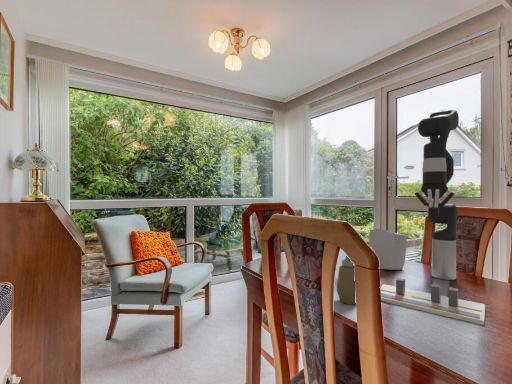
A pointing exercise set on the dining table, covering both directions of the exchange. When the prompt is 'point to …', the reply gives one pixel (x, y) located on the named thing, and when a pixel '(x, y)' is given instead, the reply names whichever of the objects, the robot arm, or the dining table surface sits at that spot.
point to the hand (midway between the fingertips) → (433, 217)
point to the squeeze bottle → (346, 282)
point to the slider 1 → (400, 286)
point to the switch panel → (435, 304)
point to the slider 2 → (453, 296)
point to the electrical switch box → (389, 248)
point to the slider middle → (435, 293)
